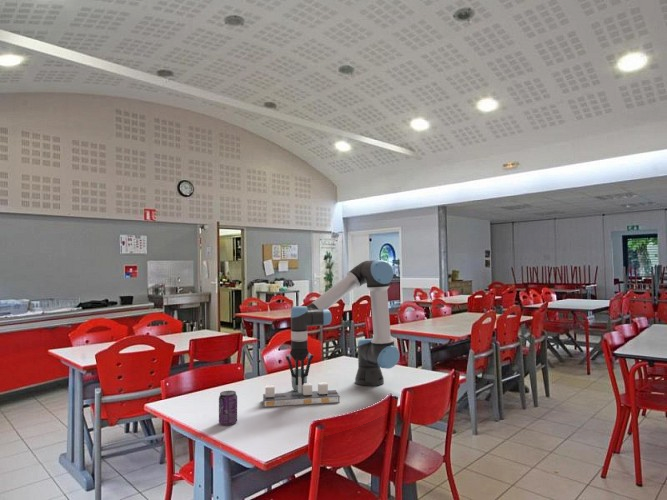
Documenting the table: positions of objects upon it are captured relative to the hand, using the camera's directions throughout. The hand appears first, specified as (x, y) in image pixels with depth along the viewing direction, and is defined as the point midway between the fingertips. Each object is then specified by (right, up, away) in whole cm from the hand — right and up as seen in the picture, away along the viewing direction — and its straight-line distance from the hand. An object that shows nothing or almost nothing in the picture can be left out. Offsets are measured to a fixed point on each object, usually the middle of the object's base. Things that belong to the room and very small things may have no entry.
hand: (299, 392), depth 205 cm
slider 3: (+11, -1, +2) cm, 11 cm away
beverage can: (-26, -4, -28) cm, 38 cm away
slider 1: (-13, -1, -2) cm, 14 cm away
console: (+1, -4, 0) cm, 4 cm away
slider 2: (+3, -1, +1) cm, 4 cm away
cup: (-2, -5, +19) cm, 20 cm away
